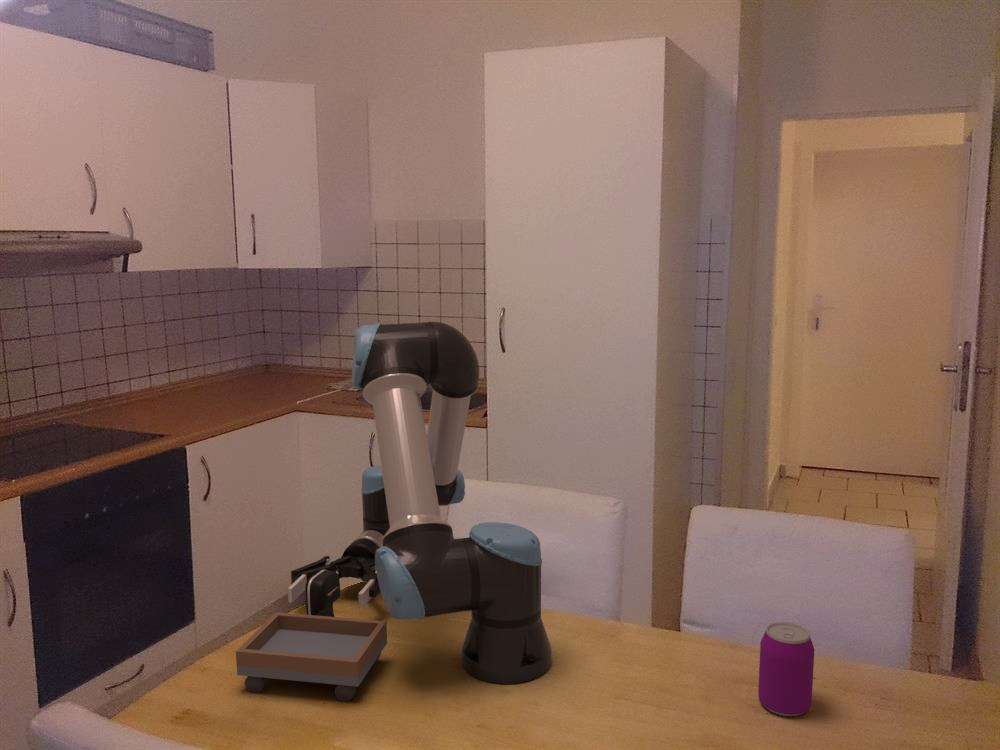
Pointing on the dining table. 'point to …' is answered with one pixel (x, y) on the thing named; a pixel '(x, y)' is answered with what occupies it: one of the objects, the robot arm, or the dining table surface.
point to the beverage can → (786, 669)
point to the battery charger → (322, 593)
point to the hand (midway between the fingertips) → (324, 598)
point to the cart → (312, 651)
